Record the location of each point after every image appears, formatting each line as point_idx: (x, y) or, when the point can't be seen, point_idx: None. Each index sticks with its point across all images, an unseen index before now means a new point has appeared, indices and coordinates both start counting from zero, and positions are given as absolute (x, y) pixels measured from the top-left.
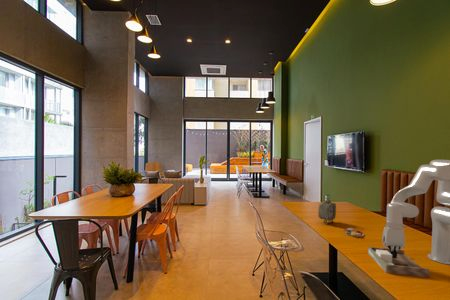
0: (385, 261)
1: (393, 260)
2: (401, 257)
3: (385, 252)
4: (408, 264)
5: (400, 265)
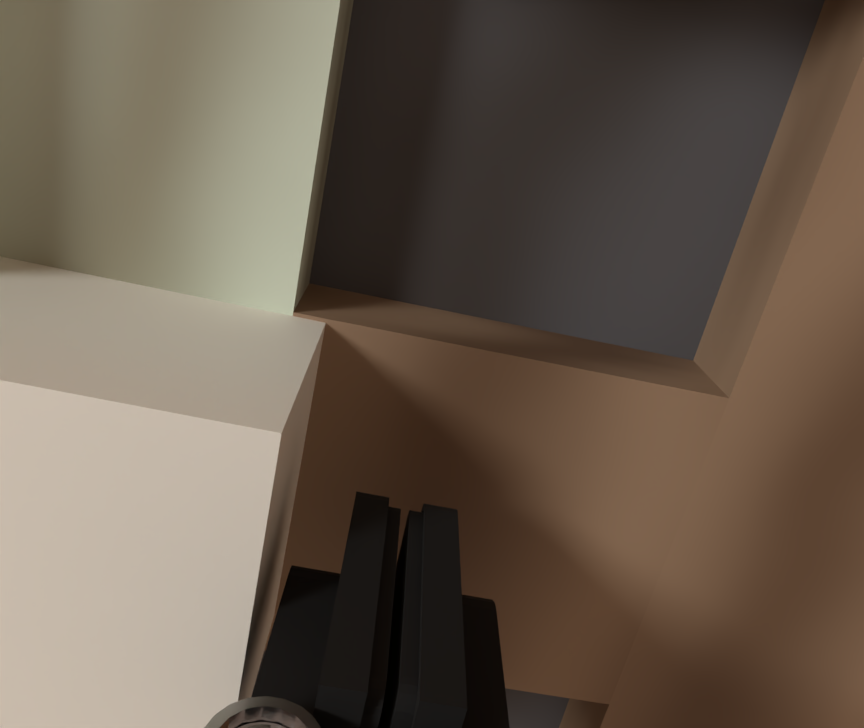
0: None
1: None
2: (861, 322)
3: (63, 625)
4: (643, 715)
5: None
